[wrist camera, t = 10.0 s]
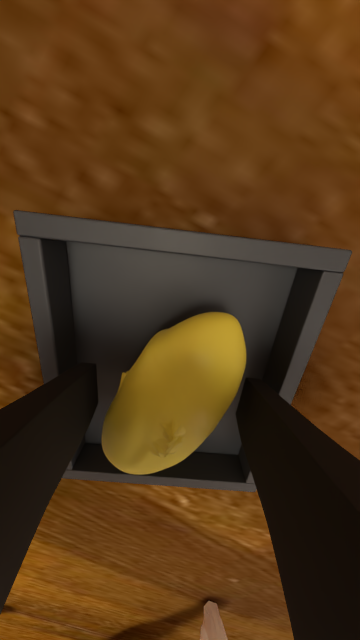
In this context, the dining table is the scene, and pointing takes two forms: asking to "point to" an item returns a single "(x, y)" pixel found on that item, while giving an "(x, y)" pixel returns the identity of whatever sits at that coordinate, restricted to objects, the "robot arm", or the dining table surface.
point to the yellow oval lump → (175, 393)
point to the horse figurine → (212, 623)
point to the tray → (170, 318)
